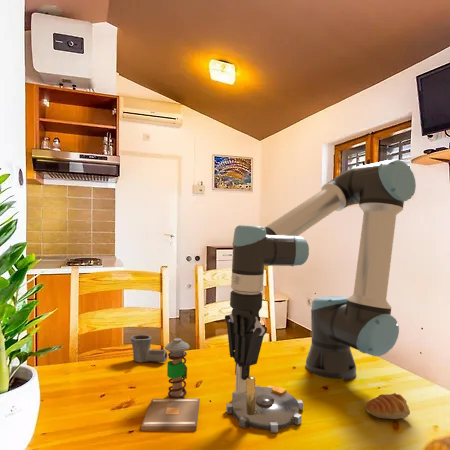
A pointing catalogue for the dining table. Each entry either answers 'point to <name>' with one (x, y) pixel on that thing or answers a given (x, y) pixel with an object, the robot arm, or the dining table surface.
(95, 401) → the dining table surface
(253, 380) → the sprocket
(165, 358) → the pipe
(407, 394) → the dining table surface
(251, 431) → the dining table surface
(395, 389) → the dining table surface
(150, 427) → the pad
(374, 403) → the pastry
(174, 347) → the shock absorber
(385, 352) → the robot arm
